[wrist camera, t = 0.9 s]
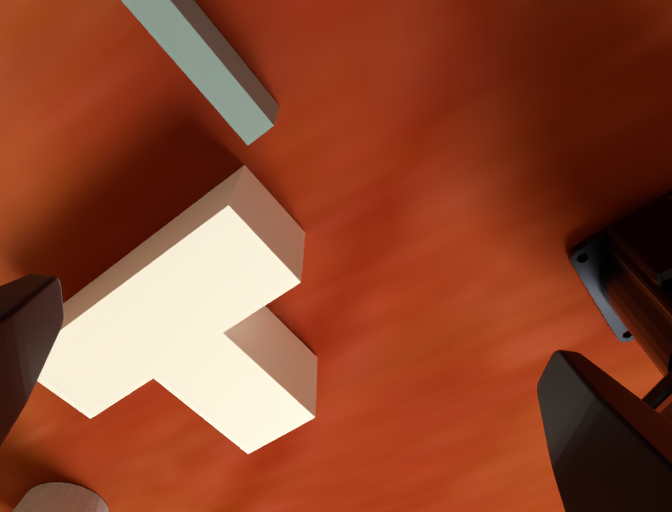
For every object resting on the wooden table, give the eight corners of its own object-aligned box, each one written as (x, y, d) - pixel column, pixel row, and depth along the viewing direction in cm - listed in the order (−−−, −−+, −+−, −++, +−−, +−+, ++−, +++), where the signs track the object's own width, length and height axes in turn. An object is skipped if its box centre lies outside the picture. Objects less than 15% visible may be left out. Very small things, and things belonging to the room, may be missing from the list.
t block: (381, 319, 26) (389, 376, 22) (204, 424, 29) (186, 487, 26) (244, 164, 22) (228, 205, 18) (57, 307, 25) (14, 364, 22)
